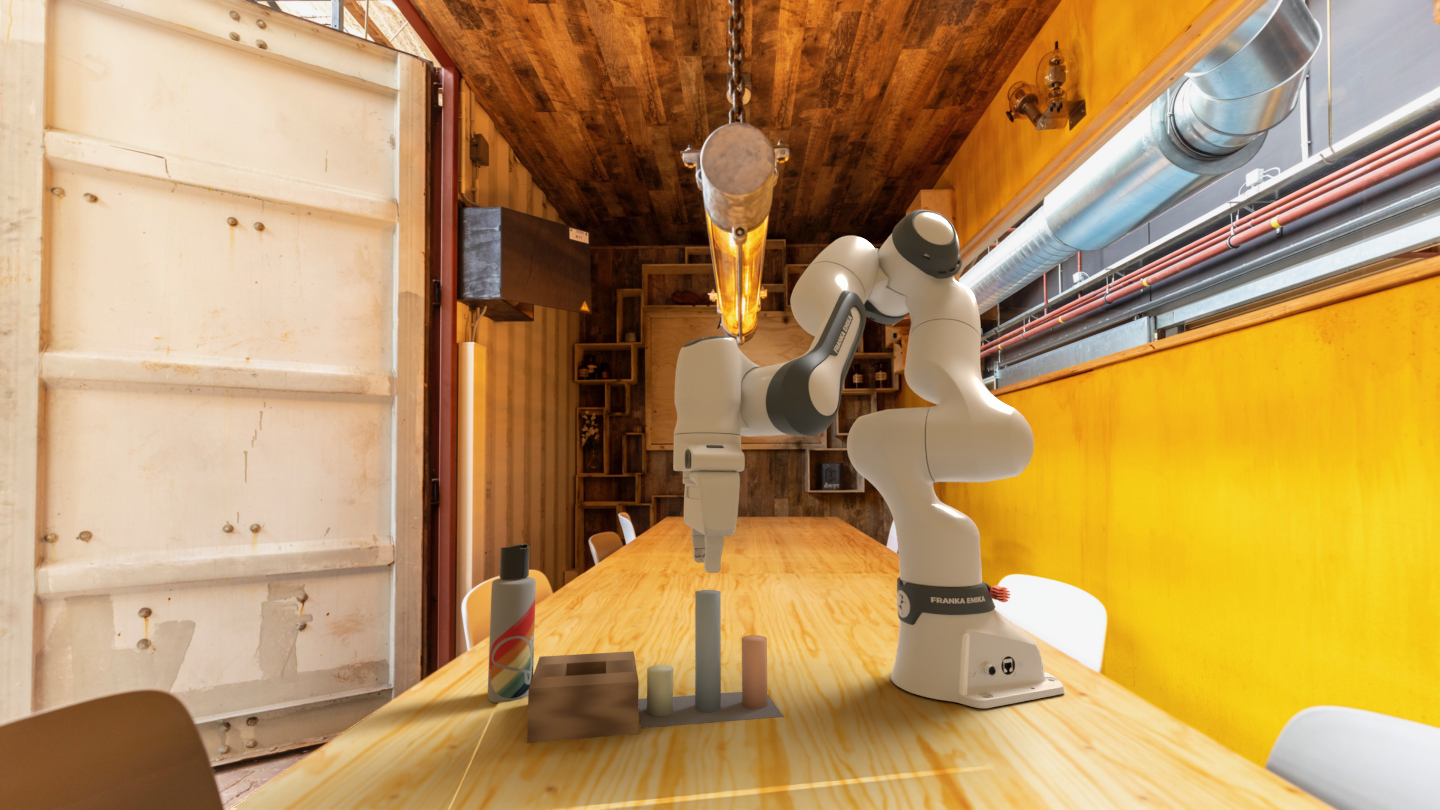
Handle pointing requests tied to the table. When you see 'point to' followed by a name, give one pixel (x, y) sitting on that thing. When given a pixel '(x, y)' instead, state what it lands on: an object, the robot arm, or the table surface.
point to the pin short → (660, 690)
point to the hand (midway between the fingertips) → (706, 566)
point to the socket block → (583, 697)
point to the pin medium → (754, 671)
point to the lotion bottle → (512, 627)
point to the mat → (689, 715)
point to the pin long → (708, 650)
